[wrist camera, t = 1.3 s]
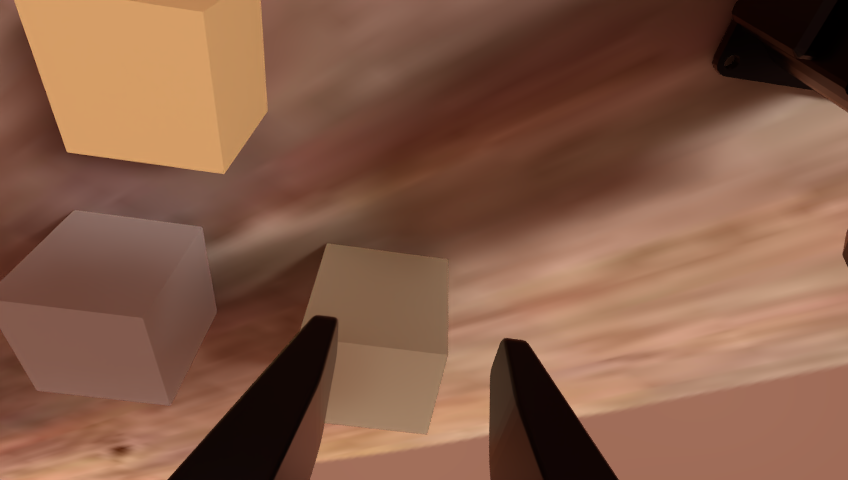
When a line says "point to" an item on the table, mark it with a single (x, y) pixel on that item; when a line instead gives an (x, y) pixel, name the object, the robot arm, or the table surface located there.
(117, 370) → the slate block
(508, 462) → the robot arm
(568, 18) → the table surface
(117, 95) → the mustard block
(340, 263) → the tan cube
